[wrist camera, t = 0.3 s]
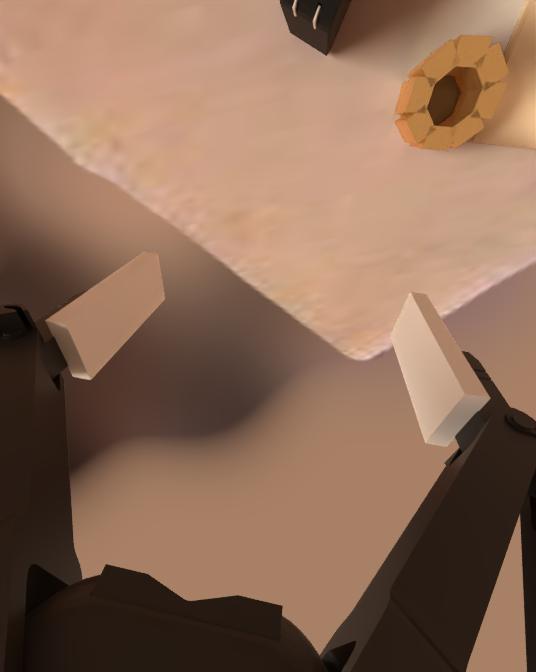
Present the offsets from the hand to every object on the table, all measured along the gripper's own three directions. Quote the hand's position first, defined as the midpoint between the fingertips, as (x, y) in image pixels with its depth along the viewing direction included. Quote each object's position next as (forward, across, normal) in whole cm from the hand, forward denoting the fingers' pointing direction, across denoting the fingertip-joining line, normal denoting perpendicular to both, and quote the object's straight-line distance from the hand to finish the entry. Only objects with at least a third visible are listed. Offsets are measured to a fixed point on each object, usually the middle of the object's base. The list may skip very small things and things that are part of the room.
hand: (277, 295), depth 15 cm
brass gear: (+26, +12, +10) cm, 31 cm away
